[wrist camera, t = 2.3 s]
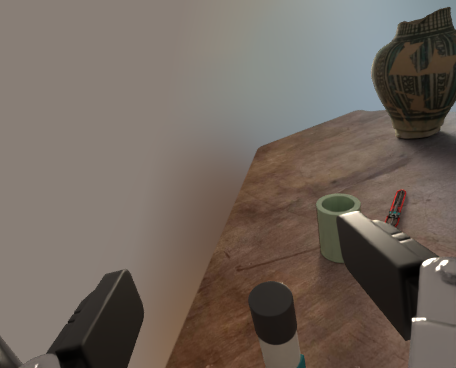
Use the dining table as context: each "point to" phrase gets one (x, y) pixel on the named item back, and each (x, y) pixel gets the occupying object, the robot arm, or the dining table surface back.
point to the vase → (418, 74)
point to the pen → (396, 207)
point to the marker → (276, 325)
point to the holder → (333, 222)
